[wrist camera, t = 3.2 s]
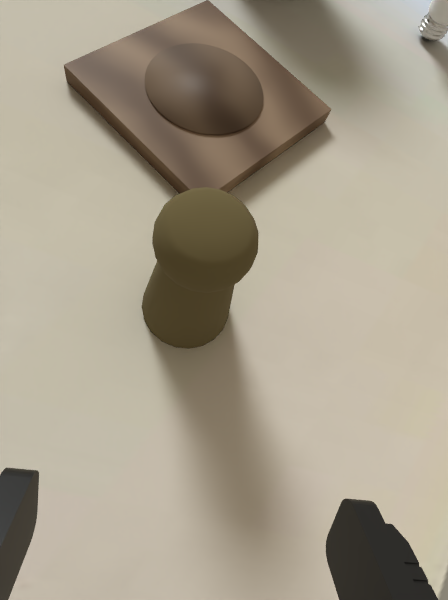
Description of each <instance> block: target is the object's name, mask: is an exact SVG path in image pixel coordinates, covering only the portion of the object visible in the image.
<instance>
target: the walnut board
mask: <svg viewBox="0 0 448 600" xmlns="http://www.w3.org/2000/svg"><path fill="white" fill-rule="evenodd" d="M64 69H65V74H66V79H67V82H68V83H69V84H70V85H71V86H72V87H73V88H74V89H75V90H76V91H77V92H78V93H79V94H80V95H81V96H82V97H83V98H84V99H85V100H86V101H87V102H88V103H89V104H90V105H91V106H92V107H93V108H94V109H95V110H96V111H97V112H99V113H100V114H101V115H102V116H103V117H104V118H105V119H106V120H107V121H108V122H109V123H110V124H111V125H112V126H113V127H114V128H115V129H116V130H117V131H118V132H119V133H120V134H121V135H122V136H123V137H124V138H125V139H126V140H127V141H128V142H129V143H130V144H131V145H132V146H133V147H134V148H135V149H136V150H137V151H138V152H139V153H140V154H141V155H142V156H143V157H144V158H145V159H146V160H147V161H148V162H149V163H150V164H151V165H152V166H153V167H154V168H155V169H156V170H157V171H158V172H159V173H160V174H161V175H162V176H163V177H164V178H165V179H166V180H167V181H168V182H169V183H170V184H171V185H172V186H173V187H174V188H175V189H176V190H177V191H178V192H179V193H183V192H185V191H188V190H190V189H193V188H203V187H208V188H214V189H220V190H222V191H225V192H228V191H230V190H231V189H233V188H234V187H235V186H237V185H238V184H239V183H241V182H242V181H244V180H245V179H246V178H248V177H249V176H251V175H252V174H253V173H255V172H256V171H257V170H259V169H260V168H262V167H263V166H264V165H266V164H267V163H269V162H270V161H271V160H273V159H274V158H275V157H277V156H278V155H280V154H281V153H282V152H284V151H285V150H287V149H288V148H289V147H291V146H292V145H293V144H295V143H296V142H298V141H299V140H300V139H302V138H303V137H305V136H306V135H307V134H309V133H310V132H311V131H313V130H314V129H316V128H317V127H318V126H320V125H321V124H323V123H324V122H325V120H326V118H327V117H328V115H329V113H330V111H331V108H329V107H328V106H327V105H326V104H325V103H324V102H323V101H322V100H320V99H319V98H318V97H317V96H316V95H315V94H314V93H312V92H311V91H310V90H309V89H308V88H307V87H306V86H305V85H303V84H302V83H301V82H300V81H299V80H298V79H297V78H296V77H294V76H293V75H292V74H291V73H290V72H289V71H288V70H286V69H285V68H284V67H283V66H282V65H281V64H280V63H279V62H277V61H276V60H275V59H274V58H273V57H272V56H271V55H269V54H268V53H267V52H266V51H265V50H264V49H263V48H262V47H260V46H259V45H258V44H257V43H256V42H255V41H254V40H253V39H251V38H250V37H249V36H248V35H247V34H246V33H245V32H243V31H242V30H241V29H240V28H239V27H238V26H237V25H236V24H234V23H233V22H232V21H231V20H230V19H229V18H228V17H226V16H225V15H224V14H223V13H222V12H221V11H220V10H219V9H217V8H216V7H215V6H214V5H213V4H212V3H211V2H210V1H208V0H207V1H204V2H202V3H200V4H198V5H196V6H193V7H191V8H189V9H187V10H184V11H182V12H180V13H178V14H176V15H173V16H171V17H169V18H167V19H164V20H162V21H160V22H158V23H156V24H153V25H151V26H149V27H147V28H145V29H142V30H140V31H138V32H136V33H133V34H131V35H129V36H127V37H125V38H122V39H120V40H118V41H116V42H113V43H111V44H109V45H107V46H105V47H102V48H100V49H98V50H96V51H93V52H91V53H89V54H87V55H85V56H82V57H80V58H78V59H76V60H73V61H71V62H69V63H67V64H65V65H64Z"/></svg>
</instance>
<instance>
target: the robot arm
mask: <svg viewBox="0 0 448 600" xmlns="http://www.w3.org/2000/svg"><path fill="white" fill-rule="evenodd" d="M38 485H39V472H38V471H36V470H26V469H15V468H5V469H4V470H3V472H2V473H1V475H0V600H8V599H9V596H10V594H11V591H12V588H13V586H14V583H15V581H16V578H17V576H18V573H19V570H20V568H21V565H22V563H23V560H24V558H25V555H26V552H27V550H28V547H29V545H30V542H31V539H32V536H33V532H34V529H35V524H36V519H37V506H38ZM326 556H327V561H328V565H329V568H330V571H331V575H332V578H333V581H334V584H335V587H336V591H337V594H338V597H339V600H438V598H437V597H436V595H435V593H434V591H433V589H432V587H431V585H429V584H428V579H427V577H426V575H425V574H424V572H423V570H422V568H421V567H419V562H418V560H417V558H416V556H415V554H414V552H413V550H412V549H411V547H410V545H409V543H408V542H407V540H406V539H405V538H404V537H403V536H402V535H401V534H400V532H399V531H398V530H397V529H396V528H395V527H394V526H393V525H392V524H385V522H384V520H383V518H382V516H381V513H380V511H379V509H378V507H377V506H376V504H375V503H374V502H372V501H366V500H356V499H344V500H343V501H342V502H341V505H340V507H339V509H338V512H337V514H336V517H335V519H334V522H333V524H332V526H331V529H330V531H329V534H328V536H327V541H326Z"/></svg>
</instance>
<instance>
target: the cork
mask: <svg viewBox="0 0 448 600" xmlns="http://www.w3.org/2000/svg"><path fill="white" fill-rule="evenodd" d="M153 247H154V252H155V257H156V259H157V263H156V265H155V268H154V270H153V273H152V275H151V278H150V280H149V283H148V285H147V288H146V290H145V293H144V296H143V303H142V310H143V315H144V320H145V322H146V324H147V325H148V327H149V329H150V331H151V332H152V333H153V334H154V335H155V336H157V337H158V338H159V339H160V340H161V341H163V342H165V343H167V344H169V345H172V346H174V347H181V348H193V347H198V346H203V345H205V344H206V343H208V342H210V341H212V340H213V339H215V338H216V336H217V335H218V334H219V333H220V332H221V331H222V330H223V328H224V325H225V323H226V320H227V318H228V313H229V309H230V304H231V299H232V294H233V289H234V284H235V283H237V282H239V281H240V280H241V279H242V278H243V277H244V276H245V275H246V273H247V272H248V271H249V270H250V268H251V267H252V265H253V262H254V260H255V257H256V255H257V253H258V230H257V226H256V223H255V220H254V218H253V217H252V215H251V214H250V212H249V211H248V209H247V208H246V206H245V205H244V204H243V203H242V202H241V201H239V200H238V199H237V198H236V197H235V196H233V195H231V194H229V193H227V192H225V191H222V190H220V189H214V188H208V187H203V188H193V189H190V190H188V191H185V192H183V193H180V194H178V195H175V196H174V197H173V198H172V199H171V200H170V201H168V202H167V203H166V204H165V205H164V207H163V209H162V210H161V212H160V214H159V216H158V217H157V219H156V221H155V224H154V231H153Z"/></svg>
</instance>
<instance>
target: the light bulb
mask: <svg viewBox="0 0 448 600" xmlns="http://www.w3.org/2000/svg"><path fill="white" fill-rule="evenodd" d="M419 30H420V32H421V34H422V36H423V37H424V38H425V39H427V40H432V41H437V40H440V39H442V38H443V37H444V36H445V34H446V33H447V31H448V0H432V1H431V3H430V6H429V12H428V14H427V15H425V16H424V19H422V21H421V25H420V26H419Z"/></svg>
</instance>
